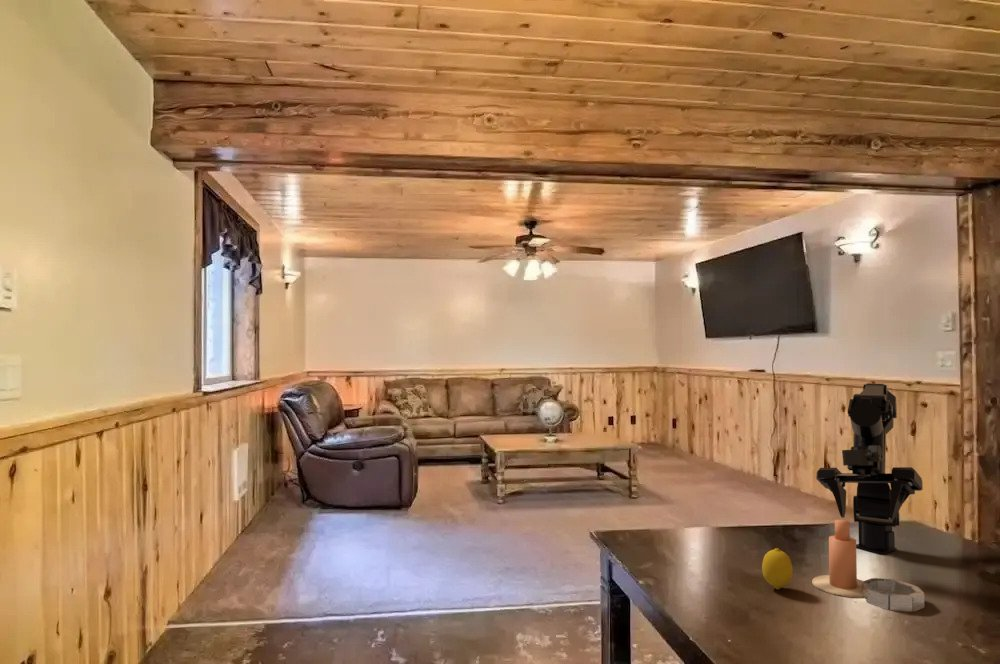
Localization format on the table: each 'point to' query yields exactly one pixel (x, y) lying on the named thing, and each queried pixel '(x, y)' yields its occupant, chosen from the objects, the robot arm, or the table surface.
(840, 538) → the pin
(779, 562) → the lemon
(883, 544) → the robot arm
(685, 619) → the table surface
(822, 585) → the coaster
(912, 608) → the ring
